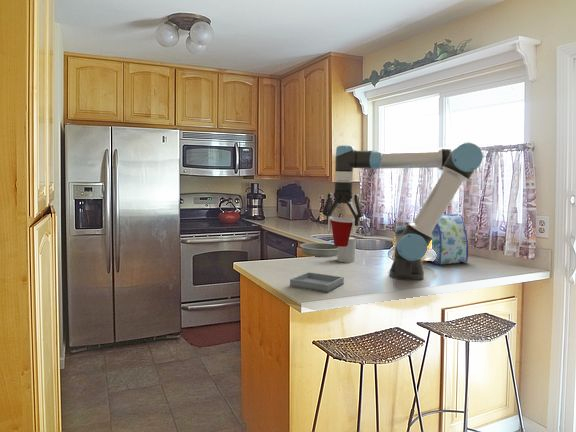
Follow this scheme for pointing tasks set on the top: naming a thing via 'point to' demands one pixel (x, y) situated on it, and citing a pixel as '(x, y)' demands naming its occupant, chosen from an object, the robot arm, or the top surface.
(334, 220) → the plastic cup
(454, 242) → the lunch bag
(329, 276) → the tray
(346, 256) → the white cylinder
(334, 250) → the cake pan
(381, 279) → the top surface
